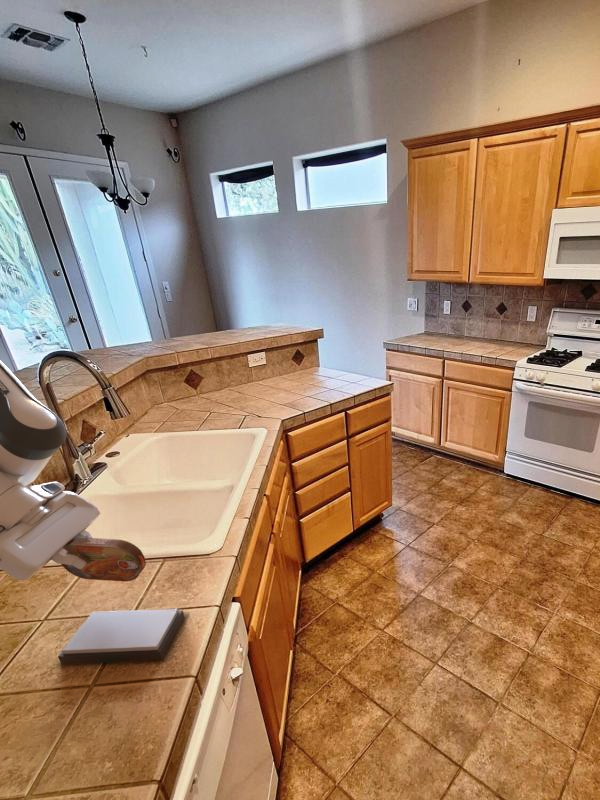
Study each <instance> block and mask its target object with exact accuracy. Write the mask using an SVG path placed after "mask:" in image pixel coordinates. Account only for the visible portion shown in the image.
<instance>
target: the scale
mask: <svg viewBox="0 0 600 800" xmlns="http://www.w3.org/2000/svg"><path fill="white" fill-rule="evenodd" d="M185 618H186V616H185V613H184V610H183V609H179V608H167V609H166V608H162V609H159V608H158V609H133V610H131V609H130V610H105V611H92V612H91V613H90V614H89V616H88V617H87V619H86V620H85V621H84V622H83V623H82V624H81V626H80V627H79V628H78V630H76V631H75V633H74V635H73V636H72V637H71V638H70V640H68V641H67V643H66V644H65V646H64V647H62V649H61V652H60V653H59V655H58V656H57V658H58V660H59V662H60V664H61V665H62V666H65V665H84V664H85V665H86V664H108V663H109V664H110V663H130V662H153V661H163V659H165V656H166V654H167V652H168V650H169V649H170V647H171V645H172V643H173V640H174V639H175V637H176V635H177V634H178V631H179V629H180V628H181V626H182V624H183V622H184V620H185Z"/></svg>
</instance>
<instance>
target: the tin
mask: <svg viewBox="0 0 600 800" xmlns="http://www.w3.org/2000/svg"><path fill="white" fill-rule="evenodd" d="M63 549H65V550H66V551H68V553H67V554H70V555H74V556H78V557H79V556H80V555H81V554H82V555H84V556H85V557H87V558H89V562H88V563H87V564H86V565H85V566H84V567H83V568H82V569H78V568H76V567H75V566H73V565H67V564H60V565H61V566H62V567H63V569H64V570H66V571H67V572H68V573H70V574H71V575H72V576H75V577H77V578H80V579H83V580H93V581H109V582H110V581H112V582H124V583H125V582H126V583H127V582H132V581H134V580H136V579H138V578H139V576H140V574H141V573H142V572H143V571H144V569H145V568H146V565H147V562H146V558H145V555H144V554H143V553H144V552H142V550H141V549H140V548H139V547H138V546H137V545H135V544H133V543H132V542H130V541H127V540H123V539H115V538H98V537H97V538H96V537H95V538H94V537H92V538H75V539H73V540H71V541H70V542H68V543H67V544H66V545H65V546H64V547H63Z"/></svg>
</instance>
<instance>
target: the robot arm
mask: <svg viewBox="0 0 600 800" xmlns="http://www.w3.org/2000/svg"><path fill="white" fill-rule="evenodd" d="M67 435H68V433H67V428H66V426H65V424H64V422H63V420H62V419H61V418H60V417H59V416H58V414H56V413H55V412H54V411H53V410H51V409H50V408H49V407H47V406H46V405H45V404H43V403H42V402H41V401H39V400H38V399H37V398H36V397H35V396H34V394H32V393H31V392H30V390H29V389H28V388H26V386H25V385H24V384H23V383H22V382H21V381H20V379H19V378H18V377H16V375H15V374H14V373H13V372H12V371H11V370H10V369H9V368H8V366H7V365H6V364H5V363H4V362H3V361H2V360H1V359H0V570H1V571H3V572H4V573H5V574H7V575H9V576H10V577H12V578H13V579H15V580H17V581H29V580H30V579H31V578H32V577H34V575H36V574H37V573H38V572H39V571H40V570H42V569H43V568H44V567H45V566H47V564H48V563H50V561H53V562H55V563H57V564H60V565H61V564H67V565H73V566H75V567H76V568H78V569H82V568H83V567H84V566H85V565H86V564H87V563H88V562H89V558H87V557H85V556H84V555H82V554H81V555H80V556H79V557H78V556H74V555H70V554H67V553H68V551H66V550H65V549H63V547H64V546H65V545H66V544H67V543H68V542H70V541H71V540H73V539H75V538H93V536H92V534H91V533H90V532H89V531H87V529H88V528H89V527H90V526H91V525H92V524H93V523H94V522H95V521H96V520H97V519H98V518H99V516H100V515H101V512H100V509H99V508H98V506H96V505H95V504H94V503H92V502H91V501H90V500H87V499H86V498H85V497H82V495H79V494H77V493H76V492H74V491H70V490H66V489H65V488H66V487H65V486H64V485H63V484H62V483H60V482H58V481H51V482H46V483H42V484H35V485H30V484H32V483H33V482H35V480H37V478H38V477H39V475H40V474H41V473H42V471H43V470H44V469H45V468H46V466H47V465H48V463H49V461H50V460H51V458H52V457H53V456H54V454H55V453H57V452H58V450H59V449H60V448H61V447H62V445H64V443H65V442H66V440H67ZM29 485H30V486H29Z"/></svg>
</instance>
